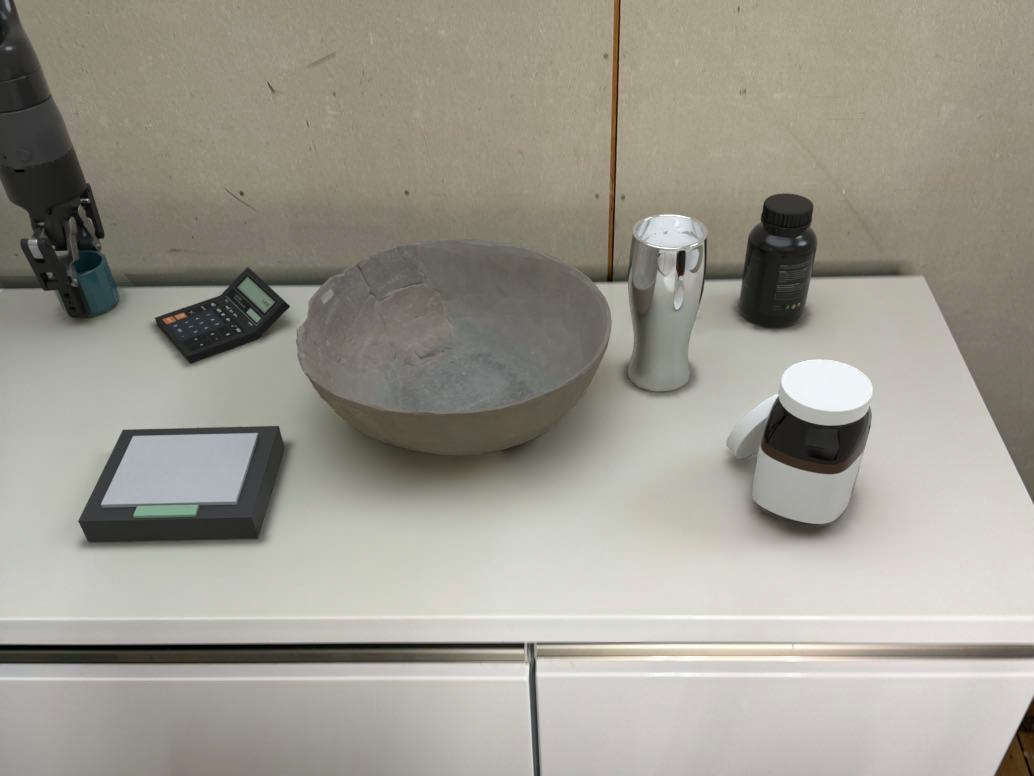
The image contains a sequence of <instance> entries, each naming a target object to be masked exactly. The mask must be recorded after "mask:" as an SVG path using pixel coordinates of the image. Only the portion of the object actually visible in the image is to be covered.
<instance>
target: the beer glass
mask: <svg viewBox="0 0 1034 776" xmlns="http://www.w3.org/2000/svg"><path fill="white" fill-rule="evenodd" d="M631 231H632V234H631V235H632V236H631V241H630V243H631V244H630V248H629V255H628V256H629V257H628V265H627V266H628V268H627V293H628V294H627V295H628V304H629V311H630V318H631V325H632V332H633V346H632V352H631V355H630V359H629V363H628V369H627V376H628V378H629V380H630V381H631V382H632V383H633V384H634V385H635V386H636V387H638V388H640V389H643V390H646V391H649V392H655V393H656V392H657V393H660V392H661V393H662V392H663V393H664V392H671V391H675V390H677V389H680V388H682V387H683V386H685V385H686V384H687V383H688V381H689V380H690V378H691V367H690V359H689V348H690V340H691V336H692V332H693V329H694V325H695V322H696V319H697V316H698V312H699V310H700V306H701V302H702V298H703V294H704V290H705V283H706V277H707V263H708V262H707V260H708V234H709V231H708V227H707V226H706V225H705V224H704V223H703V222H701V220H698V219H697V218H694V217H692V216H688V215H683V214H680V213H679V214H677V213H659V214H653V215H649V216H646V217H642V219H640V220H638V221H637V222H636V223H635V224H634V225H633V226H632V230H631Z"/></svg>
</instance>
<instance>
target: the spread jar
mask: <svg viewBox="0 0 1034 776" xmlns="http://www.w3.org/2000/svg"><path fill="white" fill-rule="evenodd" d="M873 395H874V386H873V384H872V381H871V380H870V378H869V377H868V376H867V375H866V374H865V373H863V371H861V370H860V369H858V368H857V367H855V366H852V365H850V364H848V363H845V362H841V361H838V360H837V361H836V360H832V359H823V358H822V359H821V358H820V359H817V358H816V359H815V358H813V359H807V360H803V361H799V362H796V363H794V364H791V365H790V366H789V367H787V368H786V369H785V371H784V372H783V373H782V375H781V378H780V383H779V389H778V393H775V394H773V395H771V396H768V398H766V399H764V400H763V401H761V402H760V403H758V404H757V405H756V406H755V407H753V408H752V409H751V410H749V411H748V412H747V413H746V415H744V416H743V417H742V418H741V419H740V420H739V421H738V422H737V424H736V425H735V426H734V427H733V428H732V430H731V431H730V433H729V434H728V436H727V439H726V445H725V446H726V447H727V448H728V450H730V452H731V453H732V454H733V455H734V456H735V457H736V458H737V459H745V458H748V457H751V456H753V455H755V454H756V453H757V457H756V462H755V469H754V474H753V480H752V486H751V488H752V489H751V495H752V501H753V502H754V504H755V505H756V506H757V507H758V509H760V510H761V511H762V512H764V513H765V514H767V515H769V516H770V517H773V519H776V520H778V521H780V522H783V523H786V524H789V525H791V526H792V525H793V526H798V527H803V528H823V527H824V528H825V527H828V526H829V525H832V524H833V523H835V522H836V521H837V520H838V519H840V518H841V516H843V514H844V513H845V511H846V509H847V507H848V505H849V504H850V501H851V499H852V498H851V497H852V495H853V492H854V489H855V486H856V482H857V479H858V475H859V472H860V468H861V464H862V460H863V456H864V453H865V449H866V445H867V443H868V439H869V434H870V431H871V426H872V419H873V413H872V412H873V411H872V408H871V402H872V398H873Z"/></svg>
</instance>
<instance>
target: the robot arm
mask: <svg viewBox="0 0 1034 776" xmlns="http://www.w3.org/2000/svg"><path fill="white" fill-rule="evenodd" d="M0 183H1V185H2V187H3V191H4V192H5V194H6V197H7V199H8V200H9V202H10V203H12V204H13V205H14V206H17V207H19V208H21V209H23V210H25V211H26V213H27V214H28V217H29V221H30V229H31V230H32V234H31V236H30V237H28V238H27V237H26V238H21V239H20V242H19V243H20V248H21V250H22V252H23V254H24V256H25V258H26V260H27V262H28V264H29V266H30V267H31V269H32V271H33V273H34V275H35V277H36V279H37V281H38V283H39V285H40V287H41V289H42V290H43V291H44V292H51V291H55V290H58V291H59V294H60V296H61V299H62V301H63V303H64V306H65V308H66V311H67V312H66V311H65V312H66V314H67V315H68V316H69V317H70V318H72V319H85V318H89V317H88V316H89V314H90V313H91V310H90V308H89V305H88V303H87V300H86V298H85V295H84V293H83V290H82V287H81V285H80V283H78V276H77V270H76V264H77V263H78V262H79V253H78V250H94V251H99V252H101V251H102V244H101V241H100V240H102V239H103V240H104V239H105V236H106V233H105V230H104V226H103V222H102V220H101V216H100V213H99V210H98V206H97V203H96V200H95V195H94V192H93V190H92V186H91V184H90V183H89V182H87V181H86V177H85V175H84V172H83V169H82V167H81V163H80V161H79V158H78V155H77V153H76V150H75V147H74V145H73V142H72V139H71V137H70V134H69V131H68V128H67V125H66V122H65V120H64V116H63V115H62V113H61V111H60V108H59V106H58V105H57V103H56V101H55V99H54V97H53V94H52V92H51V88H50V86H49V84H48V81H47V78H46V75H45V72H44V70H43V67H42V64H41V62H40V58H39V57H38V53H37V52H36V49H35V47H34V45H33V44H32V41H31V39H30V37H29V35H28V34H27V32H26V30H25V28H24V26H23V24H22V21H21V18H20V15H19V11H18V9H17V5H16V3H15V0H0ZM90 220H91V221H90ZM57 252H67V253H68V254H67V255H66V256H60V255H57ZM101 253H102V252H101ZM61 263H63V264H65V265H66V269H67V275H66V273H65V271H64V269H63V267H62V265H61ZM48 274H49V276H48Z"/></svg>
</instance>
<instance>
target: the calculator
mask: <svg viewBox="0 0 1034 776" xmlns="http://www.w3.org/2000/svg"><path fill="white" fill-rule="evenodd" d="M290 308H291V306H290V305H289V303H287V301H285V300H284V298H283V297H281V296H280V295H279V294H278V293H277V292H276V291H275V290H274V289H273V288H271V287H270V286H269V285H268V284H267V283H266V282H265V281H264V280H263V279H262V278H261V277H259V276H258V275H257V274H256V273H255V271H254V270H252V269H251V268H250V267H249V266H247V267H246V268H245V269H244V270H243V271H242V272H241V273H240V274H239V275H238V276H237V277H236V278H235V279H234V280H233V281H232V282H231V284H230V285H229V286H228V287H227V288H226V289H225V290H224V291H222V293H221V294H220V295H217V296H214V297H211V298H208V299H206V300H202V301H200V302H197V303H194V304H191V305H187V306H185V307H182V308H178V309H176V310H173V311H170V312H168V313H165V314H162V315H159V316H157V317H154V321H155V324H156V325H157V326H158V328H159V329H160V330H161V331H162V332H163V334H164V335H165V336H166V337H167V339H168V340H169V341H170V342H171V343H172V344H173V345H174V347H175V348H176V349H177V350H178V351H179V353H181V355H182V356H183V357H184V358H185V360H186V361H188V363H189V364H190V365H191V364H194V363H196V362H199V361H202V360H204V359H207V358H209V357H212V356H215V355H217V354H220V353H224V352H226V351H228V350H232V349H234V348H236V347H239V346H242V345H245V344H248V343H250V342H253V341H256V340H259V338H260V337H262V335H263V334H265V332H266V331H268V330H269V329H270V327H272V325H274V324H275V322H277V320H278V319H280V317H282V316H283V315H284V313H285V312H287V311H288V310H289V309H290Z"/></svg>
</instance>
